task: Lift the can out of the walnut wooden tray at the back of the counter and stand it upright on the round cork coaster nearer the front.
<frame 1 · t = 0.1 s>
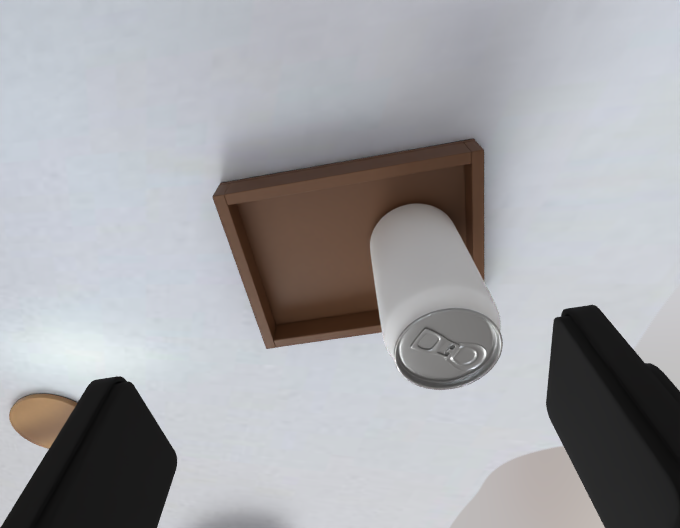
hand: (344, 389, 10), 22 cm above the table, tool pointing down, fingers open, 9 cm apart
coaster: (55, 421, 44), on the table
can: (411, 239, 33), resting on tray
tray: (358, 246, 34), on the table
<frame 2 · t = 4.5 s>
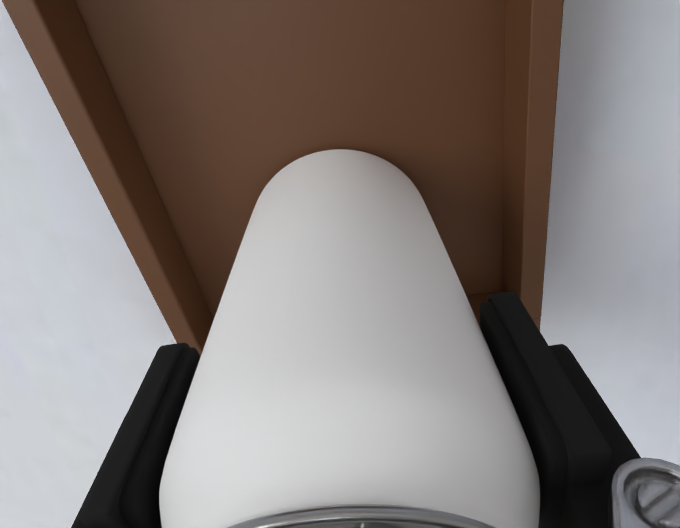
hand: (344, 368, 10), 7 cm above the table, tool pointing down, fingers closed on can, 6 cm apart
can: (339, 227, 17), resting on tray, touching gripper
tray: (317, 119, 15), on the table
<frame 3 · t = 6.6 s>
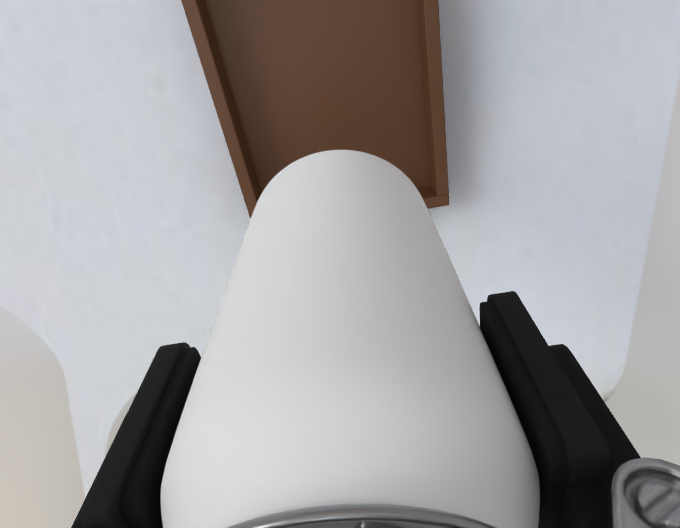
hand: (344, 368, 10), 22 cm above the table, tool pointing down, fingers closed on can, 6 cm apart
can: (340, 228, 17), point 15 cm above the table, touching gripper
tray: (327, 83, 28), on the table
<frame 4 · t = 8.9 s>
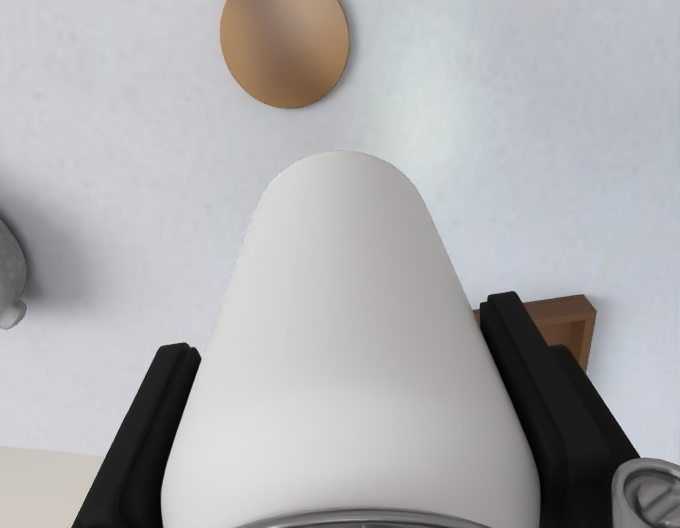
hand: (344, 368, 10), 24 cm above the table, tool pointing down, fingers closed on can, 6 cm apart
coaster: (285, 41, 28), on the table
can: (340, 228, 17), point 16 cm above the table, touching gripper
tray: (502, 374, 44), on the table
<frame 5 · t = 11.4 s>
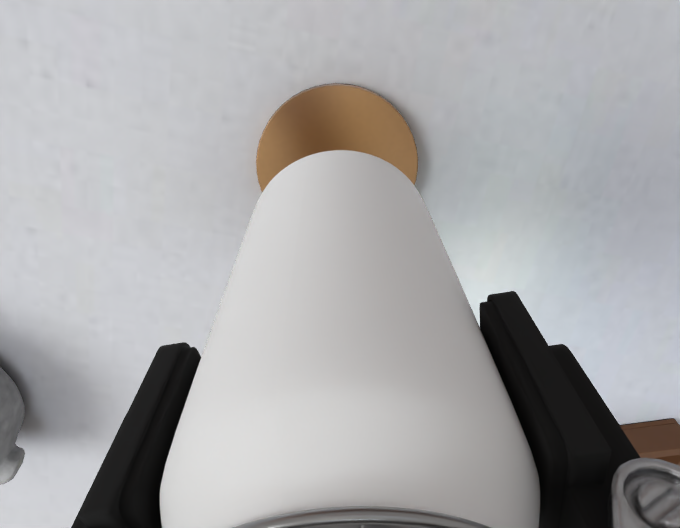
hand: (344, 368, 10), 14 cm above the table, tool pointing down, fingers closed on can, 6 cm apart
coaster: (337, 167, 22), on the table
can: (340, 228, 17), point 7 cm above the table, touching gripper
tray: (570, 494, 38), on the table
when the fingers open (8 cm above the table, at t = 13.4 s): can stays where it is, resting on coaster.
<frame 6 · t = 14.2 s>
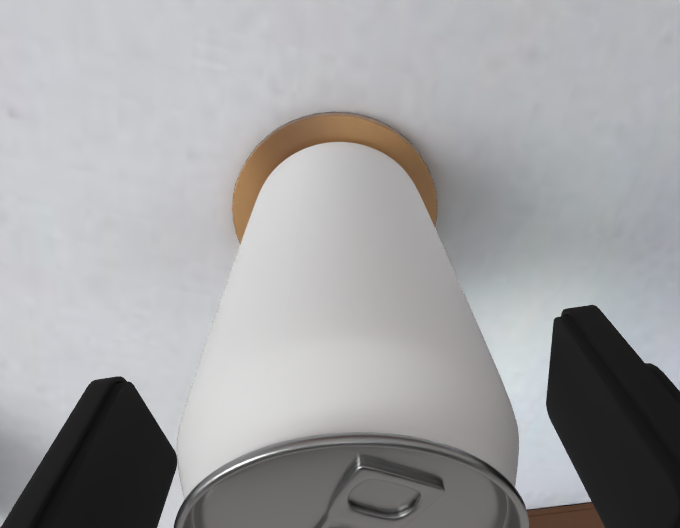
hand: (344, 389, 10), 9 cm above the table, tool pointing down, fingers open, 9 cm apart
coaster: (335, 214, 18), on the table
can: (338, 217, 17), resting on coaster
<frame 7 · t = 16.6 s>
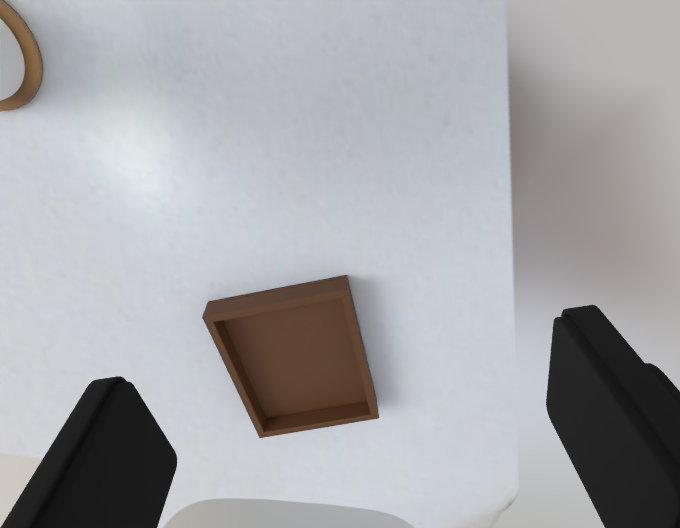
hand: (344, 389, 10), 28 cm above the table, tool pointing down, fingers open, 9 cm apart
tray: (299, 355, 46), on the table
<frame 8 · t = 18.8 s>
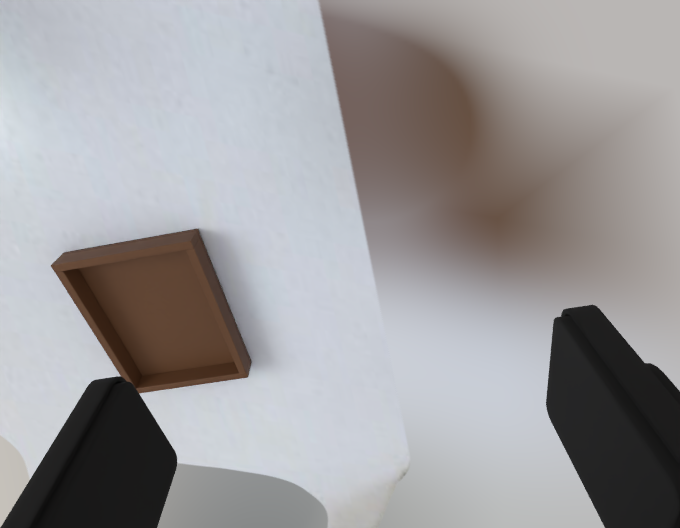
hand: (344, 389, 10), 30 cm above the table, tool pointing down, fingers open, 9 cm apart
tray: (165, 311, 47), on the table
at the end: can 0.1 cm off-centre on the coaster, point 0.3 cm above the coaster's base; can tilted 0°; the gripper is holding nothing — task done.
